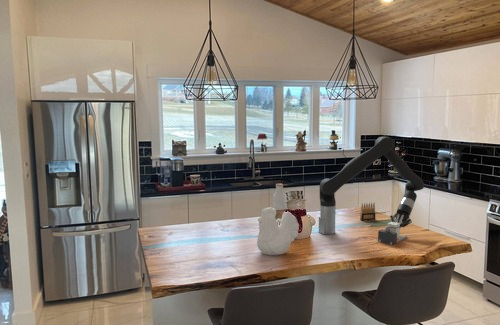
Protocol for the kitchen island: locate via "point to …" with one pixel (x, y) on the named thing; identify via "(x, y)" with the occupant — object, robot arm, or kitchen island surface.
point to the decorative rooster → (276, 232)
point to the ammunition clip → (367, 212)
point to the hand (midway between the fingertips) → (395, 231)
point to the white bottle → (279, 201)
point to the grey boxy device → (389, 236)
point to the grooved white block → (394, 227)
